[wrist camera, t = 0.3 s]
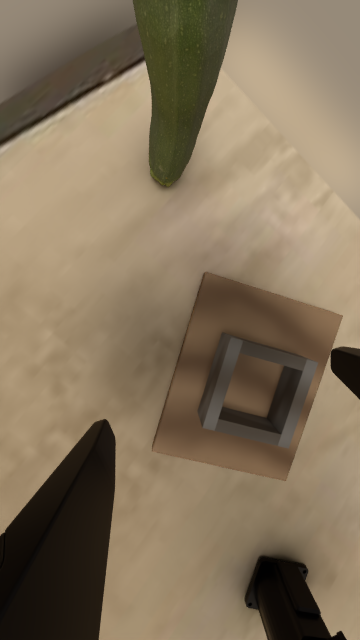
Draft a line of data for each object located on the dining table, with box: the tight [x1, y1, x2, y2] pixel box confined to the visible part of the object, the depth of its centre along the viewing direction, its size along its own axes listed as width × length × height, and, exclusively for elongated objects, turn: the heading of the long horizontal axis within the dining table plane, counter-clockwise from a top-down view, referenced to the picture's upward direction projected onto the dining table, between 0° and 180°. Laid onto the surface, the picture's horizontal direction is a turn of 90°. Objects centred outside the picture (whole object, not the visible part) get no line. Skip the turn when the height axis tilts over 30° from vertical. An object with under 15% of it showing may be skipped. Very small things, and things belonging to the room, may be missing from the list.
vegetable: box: [133, 0, 238, 187], centre depth 12 cm, size 4×4×20 cm
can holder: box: [152, 272, 343, 481], centre depth 22 cm, size 20×16×4 cm
